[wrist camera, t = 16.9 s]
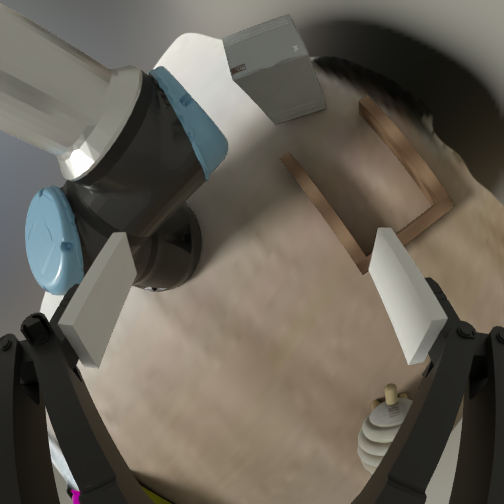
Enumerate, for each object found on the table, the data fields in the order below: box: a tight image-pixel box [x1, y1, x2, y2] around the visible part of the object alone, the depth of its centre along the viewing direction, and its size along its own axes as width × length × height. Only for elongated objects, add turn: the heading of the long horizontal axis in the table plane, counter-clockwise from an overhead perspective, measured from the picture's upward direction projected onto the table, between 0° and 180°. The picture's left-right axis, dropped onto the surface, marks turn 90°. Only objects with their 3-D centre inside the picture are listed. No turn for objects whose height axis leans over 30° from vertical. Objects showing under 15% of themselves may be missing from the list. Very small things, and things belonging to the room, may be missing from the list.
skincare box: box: [222, 14, 327, 125], centre depth 33 cm, size 8×7×16 cm
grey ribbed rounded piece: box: [357, 384, 413, 475], centre depth 31 cm, size 11×17×11 cm, turn 21°
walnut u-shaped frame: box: [279, 95, 455, 275], centre depth 36 cm, size 18×14×4 cm
